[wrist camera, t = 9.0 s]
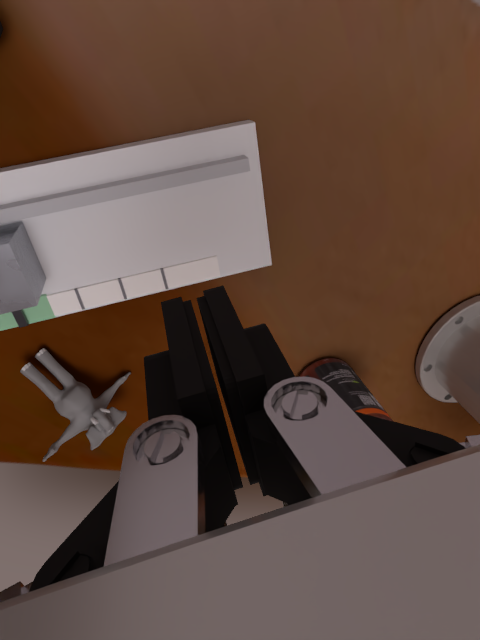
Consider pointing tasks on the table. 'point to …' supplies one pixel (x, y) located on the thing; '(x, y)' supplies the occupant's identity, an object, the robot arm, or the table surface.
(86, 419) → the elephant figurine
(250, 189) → the board
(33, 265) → the block
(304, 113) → the table surface
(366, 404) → the supplement bottle
